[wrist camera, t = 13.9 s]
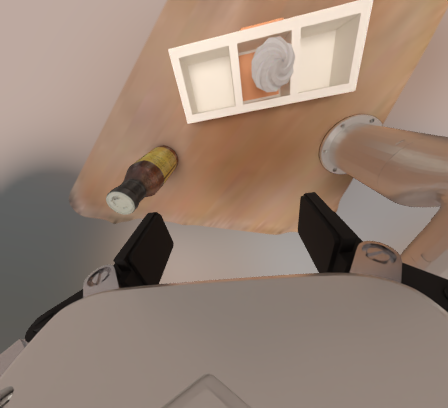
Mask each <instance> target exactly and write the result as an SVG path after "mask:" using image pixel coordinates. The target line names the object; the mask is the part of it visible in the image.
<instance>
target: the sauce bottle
mask: <svg viewBox="0 0 448 408" xmlns="http://www.w3.org/2000/svg"><path fill="white" fill-rule="evenodd" d="M177 162H178V159H177V155H176V154H175V152H174V151H173V150H172V149H171V148H169V147H166V146H160V147H157V148H154V149H153V150H152V151H150V152H149V153H147V154H146V155H145V156H143V157H142V158H141V159H139V160H138V161H136V162H135V163H134V164H133V165H131V166H130V167H129V169H128V170H127V173H126V176H125V179H124V181H123V183H122V184H121V185H120V186H118V187H116V188H114V189H113V190H111V191H110V193H108V195H107V197H106V201H107V204H108V205H109V207H110V208H111V209H113V210H114V211H116V212H117V213H120V214H131V213H133V212H134V210H135V209H136V208H137V207H138V205H139V202H140V201H141V200H142V199H143V198H144V197H149V196H152V195H155V193H156V192H157V191H158V190H159V189H160V188H161V187H162V186H163V184H164V183H165V182H166V180H167V179H168V177H169V176H170V175H171V173H172V172H173V171H174V169H175V168H176V165H177Z"/></svg>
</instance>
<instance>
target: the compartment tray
mask: <svg viewBox="0 0 448 408" xmlns="http://www.w3.org/2000/svg"><path fill="white" fill-rule="evenodd" d="M372 4H373V0H359V1H355V2H351V3H347V4H343V5H339V6H335V7H331V8H327V9H323V10H320V11H316V12H312V13H308V14H304V15H300V16H296V17H292V18H288V19H284V20H283V18H279V19H276V20H272V21H268V22H264V23H260V24H256V25H252V26H248V27H244V28H241V29H240V31H238V32H234V33H230V34H226V35H222V36H218V37H214V38H210V39H206V40H202V41H199V42H195V43H191V44H187V45H183V46H179V47H175V48H171V49H168V51H169V55H170V58H171V62H172V66H173V70H174V74H175V77H176V81H177V85H178V89H179V93H180V96H181V100H182V104H183V108H184V112H185V115H186V119H187V123H188V124H189V123H194V122H199V121H204V120H209V119H214V118H220V117H225V116H230V115H235V114H240V113H245V112H250V111H255V110H260V109H265V108H270V107H275V106H281V105H286V104H291V103H296V102H301V101H306V100H311V99H316V98H321V97H326V96H331V95H337V94H342V93H347V92H352V91H355V89H356V84H357V79H358V74H359V69H360V64H361V59H362V54H363V49H364V44H365V39H366V34H367V29H368V24H369V19H370V14H371V9H372ZM279 36H281V37H282V38H283V39H284V40H285V41H286V43H290V44H291V45H292V48H293V51H294V54H295V60H294V64H293V71H294V72H293V74H292V75H291V77H290V79H289V81H288V83H287V84H285V85H282V86H281V87H280V88H279V89H278V90H277V91H276V92H266V91H263V90H261V89H260V88H258V87H256V84H255V82H254V80H253V78H252V59H253V56H254V54H255V52H256V49H257V48H258V47H259V46H261V45H262V44H263V43H264V42H265V41H266V40H267V39H268V38H271V37H279Z"/></svg>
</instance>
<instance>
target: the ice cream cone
mask: <svg viewBox="0 0 448 408" xmlns="http://www.w3.org/2000/svg"><path fill="white" fill-rule="evenodd" d="M294 60H295V54H294V51H293V48H292V45H291V44H290V43H286V41H285V40H284V39H283V38H282V37H281V36H279V37H271V38H268V39H267V40H266V41H265V42H264V43H263V44H262V45H261V46H259V47H258V48H257V49H256V52H255V54H254V56H253V59H252V78H253V80H254V82H255V84H256V87H258V88H260V89H261V90H263V91H266V92H276V91H277V90H278V89H279V88H280V87H281V86H282V85H285V84H287V83H288V81H289V79H290V77H291V75H292V74H293V72H294V71H293V64H294Z"/></svg>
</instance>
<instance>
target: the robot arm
mask: <svg viewBox="0 0 448 408" xmlns="http://www.w3.org/2000/svg"><path fill="white" fill-rule="evenodd" d="M340 126H341V127H340ZM319 154H320V161H321V163H322V165H323V166H324V168H325V169H327V170H328V171H330V172H332V173H335V174H349V175H350V176H352V177H353V178H355V179H357V180H358V181H360V182H362V183H363V184H365V185H367V186H368V187H370V188H371V189H373V190H375V191H376V192H378V193H379V194H381V195H383V196H384V197H386V198H388V199H389V200H391V201H393V202H395V203H398V204H401V205H404V206H409V207H438V206H440V209H439V211H438V212H437V213H436V214H435V215H434V217H433V218H432V219H431V221H430V222H429V223H428V225H427V226H426V227H425V228H424V229H423V230H422V231H421V232H420V233H419V234H418V235H417V237H416V238H415V239H414V240H413V241H412V242H411V243H410V244H409V245H408V246H407V248H406V249H405V250H404V251H403V252H402V254H401V255H399V253H398V252H397V251H396V250H394V249H393V248H391V247H389V246H388V245H385V244H383V243H380V242H375V241H364V242H363V241H362V240H361V239H360V238H359V237H358V236H357V235H356V234H355V233H354V232H353V231H352V230H351V229H350V228H349V227H348V226H347V225H346V223H345V222H344V221H343V220H342V219H341V218H340V217H339V216H338V215H337V214H336V213H335V212H333V211H332V210H331V209H330V208H329V207H328V206H327V205H326V203H325V202H324V201H323V200H322V199H321V198H320V197H319V196H318V195H317V194H316V193H315V192H312V193H305V194H304V196H301V200H300V211H299V222H298V233H299V235H300V237H301V239H302V241H303V243H304V245H305V247H306V249H307V251H308V252H309V254H310V256H311V258H312V260H313V262H314V264H315V266H316V268H317V270H318V272H319V273H313V274H312V273H311V274H295V275H278V276H263V277H250V278H236V279H222V280H208V281H194V282H182V283H169V284H159V282H160V279H161V277H162V274H163V271H164V269H165V266H166V264H167V261H168V258H169V256H170V253H171V251H172V248H173V241H172V239H171V236H170V234H169V232H168V230H167V227H166V225H165V223H164V221H163V218H162V216H161V215H160V214H158V213H157V212H153V213H148V214H147V215H146V216H145V218H144V219H143V220H142V222H141V223H140V224H139V226H138V227H137V229H136V230H135V231H134V233H133V234H132V235H131V237H130V238H129V239H128V241H127V242H126V244H125V245H124V246H123V248H122V249H121V250H120V252H119V253H118V254H117V256H116V257H115V259H114V262H115V264H114V265H104V266H102V267H99V268H98V269H96V270H94V271H93V272H92V273H91V274H90V275H89V276H88V277H87V278H86V280H85V281H84V285H83V289H82V290H81V291H79V292H77V293H76V294H74V295H73V296H71V297H69V298H68V299H67V300H65V301H63V302H61V303H60V304H59V305H57V306H55V307H54V308H52V309H51V310H49V311H47V312H46V313H45V314H43V315H41V316H40V317H39V318H37V320H35V322H34V323H33V324H32V325H31V327H30V328H29V329H28V331H27V332H26V335H25V339H24V340H22V339H19V340H18V341H16V342H15V343H14V344H13V345H11V346H10V347H9V348H8V349H7V350H5V351H4V352H3V353H2V354H0V408H448V137H443V136H437V135H431V134H425V133H418V132H412V131H406V130H400V129H394V128H388V127H383V124H382V123H381V121H380V120H379V119H377V118H376V117H374V116H371V115H365V114H359V115H353V116H350V117H348V118H345V119H344V120H342V121H340V122H339V123H337V124H336V125H335V126H334V127H333V128H332V129H331V130H330V131H329V132H328V133H327V135H326V136H325V138H324V140H323V141H322V144H321V147H320V152H319Z"/></svg>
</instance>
